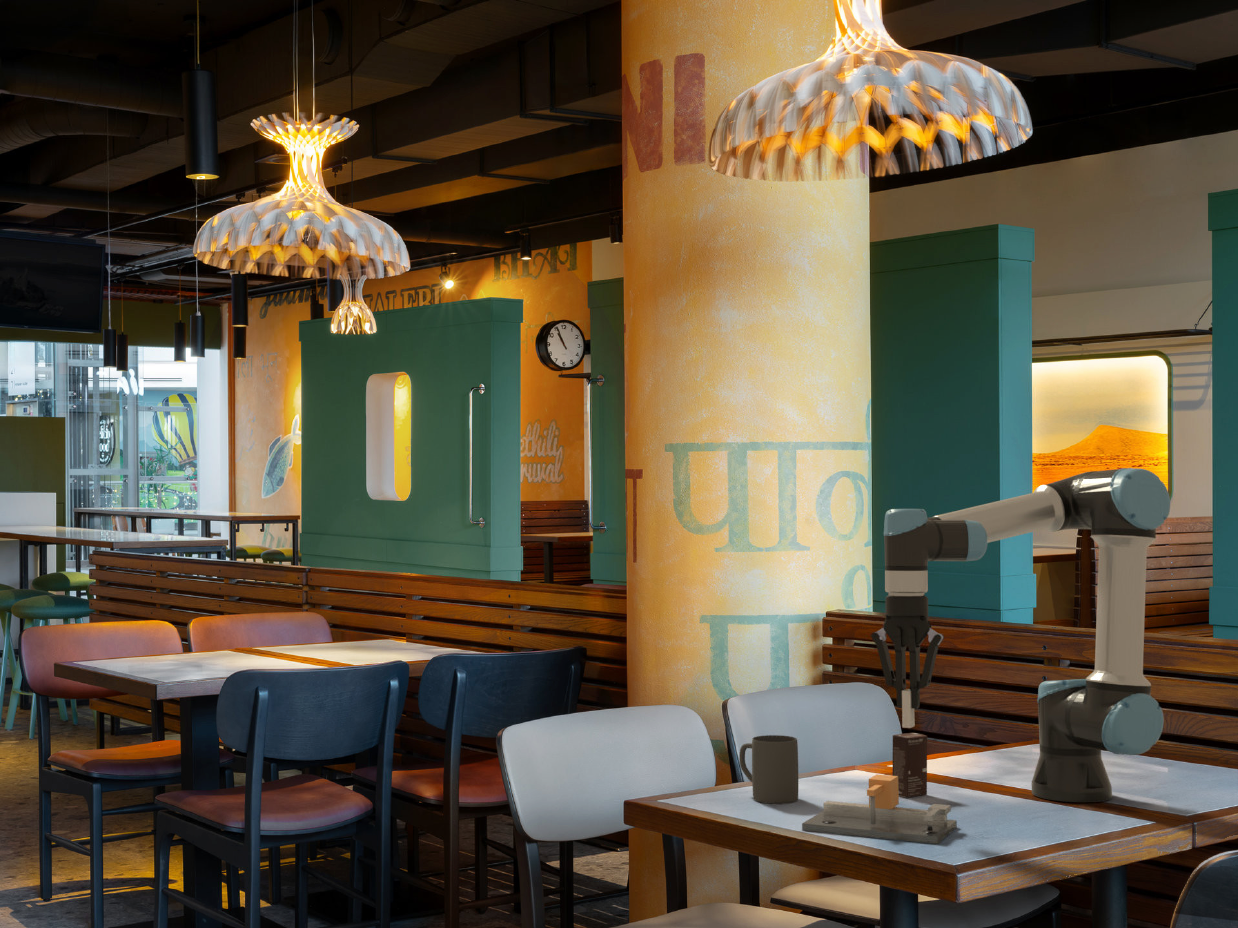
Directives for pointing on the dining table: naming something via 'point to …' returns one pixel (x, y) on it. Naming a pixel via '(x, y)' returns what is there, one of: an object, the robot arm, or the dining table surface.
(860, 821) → the plate
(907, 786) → the box
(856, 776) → the dining table surface
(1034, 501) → the robot arm
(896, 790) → the jaw
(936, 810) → the beam
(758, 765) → the mug
